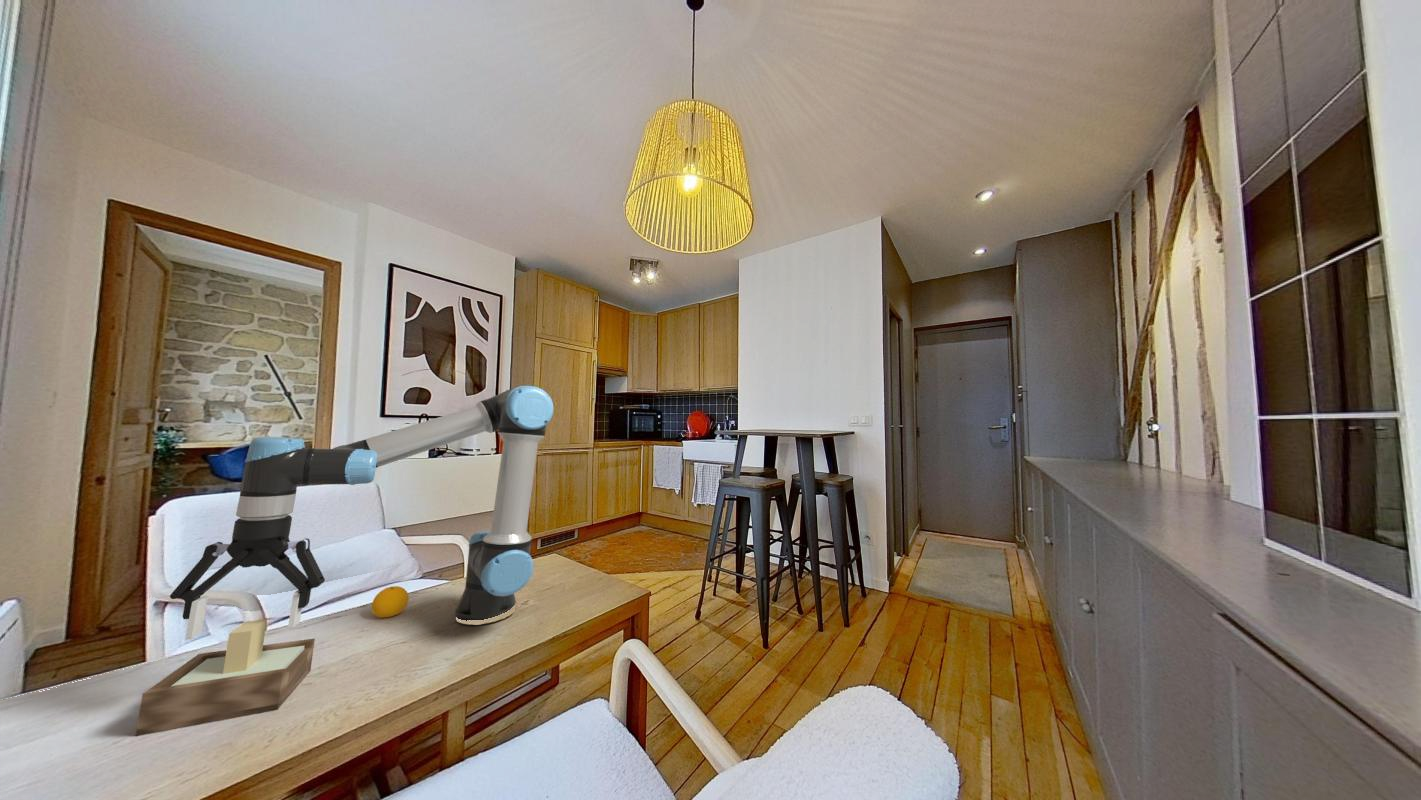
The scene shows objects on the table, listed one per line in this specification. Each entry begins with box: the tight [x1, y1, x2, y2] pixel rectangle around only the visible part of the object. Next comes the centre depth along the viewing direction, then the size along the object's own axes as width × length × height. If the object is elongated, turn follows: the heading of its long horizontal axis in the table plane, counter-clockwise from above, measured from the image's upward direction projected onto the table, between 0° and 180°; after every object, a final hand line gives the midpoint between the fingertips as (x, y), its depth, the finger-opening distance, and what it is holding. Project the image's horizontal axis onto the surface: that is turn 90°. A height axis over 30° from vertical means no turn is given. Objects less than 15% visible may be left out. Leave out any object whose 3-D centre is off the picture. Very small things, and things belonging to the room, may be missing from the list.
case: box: [134, 638, 316, 737], centre depth 75 cm, size 17×13×6 cm
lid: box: [172, 619, 305, 686], centre depth 76 cm, size 14×10×8 cm
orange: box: [371, 585, 410, 619], centre depth 111 cm, size 8×8×8 cm
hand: (245, 630), depth 76 cm, fingers open, 13 cm apart
